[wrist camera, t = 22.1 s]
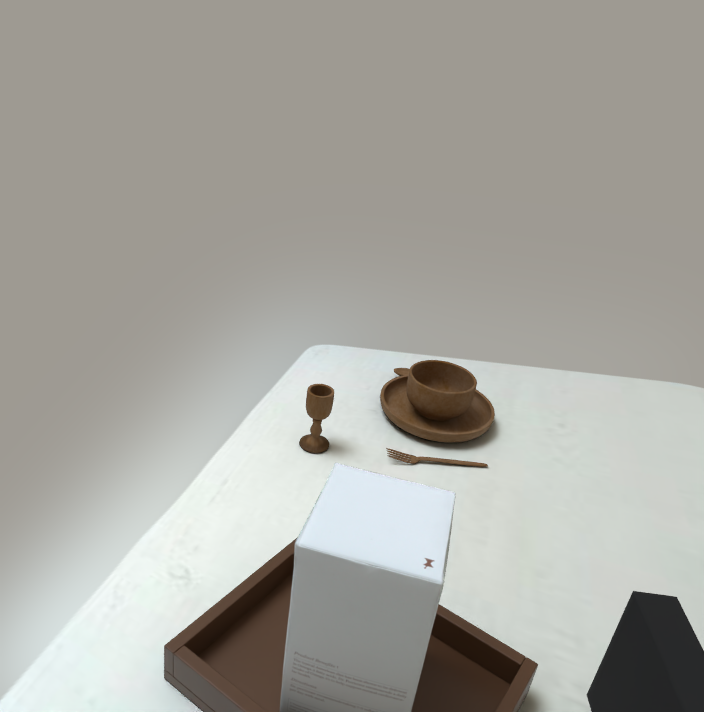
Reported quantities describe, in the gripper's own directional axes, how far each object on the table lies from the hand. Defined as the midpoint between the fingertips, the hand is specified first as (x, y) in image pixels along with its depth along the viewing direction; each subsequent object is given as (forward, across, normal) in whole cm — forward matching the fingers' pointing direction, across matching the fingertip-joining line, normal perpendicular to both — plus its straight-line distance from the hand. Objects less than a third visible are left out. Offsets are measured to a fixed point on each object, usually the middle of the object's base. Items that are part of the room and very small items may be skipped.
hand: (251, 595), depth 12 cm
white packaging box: (+18, +4, -26) cm, 32 cm away
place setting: (+51, +8, -27) cm, 58 cm away
